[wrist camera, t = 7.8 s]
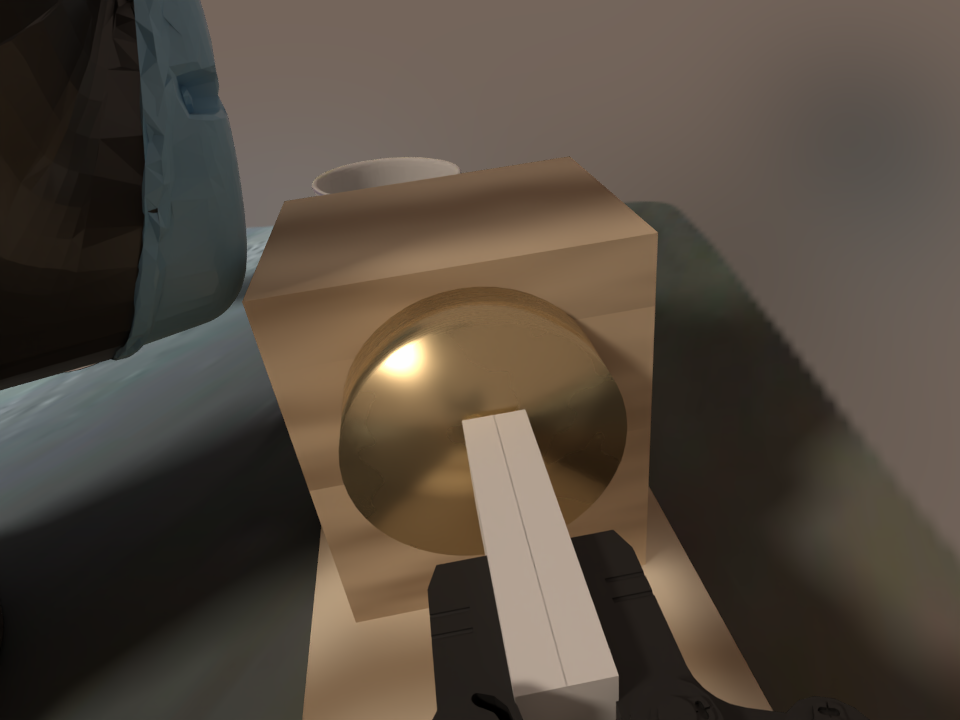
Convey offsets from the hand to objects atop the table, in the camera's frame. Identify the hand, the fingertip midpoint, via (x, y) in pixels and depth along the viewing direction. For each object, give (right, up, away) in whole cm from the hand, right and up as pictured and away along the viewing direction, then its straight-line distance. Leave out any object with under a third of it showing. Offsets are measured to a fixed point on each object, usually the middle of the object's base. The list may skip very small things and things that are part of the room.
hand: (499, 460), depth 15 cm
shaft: (-1, 0, +7) cm, 7 cm away
